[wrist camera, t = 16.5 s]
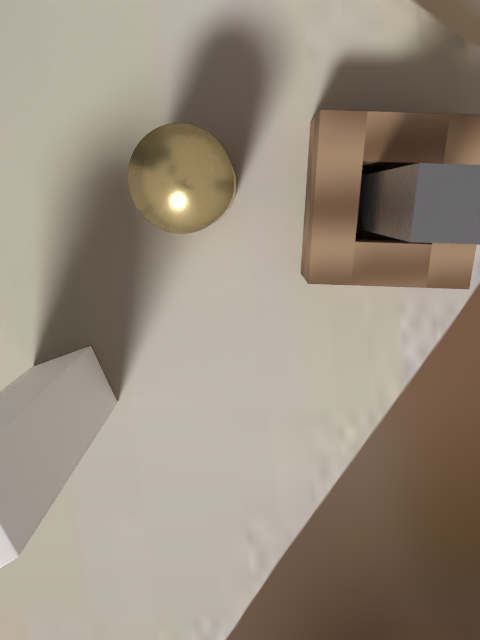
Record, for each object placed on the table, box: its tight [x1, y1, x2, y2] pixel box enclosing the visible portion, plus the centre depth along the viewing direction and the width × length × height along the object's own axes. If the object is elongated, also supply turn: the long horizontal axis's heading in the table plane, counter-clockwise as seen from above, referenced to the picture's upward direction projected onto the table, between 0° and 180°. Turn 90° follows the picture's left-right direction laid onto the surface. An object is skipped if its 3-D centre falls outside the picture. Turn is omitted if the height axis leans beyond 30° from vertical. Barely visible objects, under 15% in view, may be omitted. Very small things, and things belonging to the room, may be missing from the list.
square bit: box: [357, 163, 480, 244], centre depth 30 cm, size 4×4×14 cm
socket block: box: [301, 110, 480, 289], centre depth 35 cm, size 12×12×5 cm
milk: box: [0, 346, 117, 568], centre depth 31 cm, size 6×6×22 cm
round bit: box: [128, 123, 236, 233], centre depth 33 cm, size 7×7×9 cm
